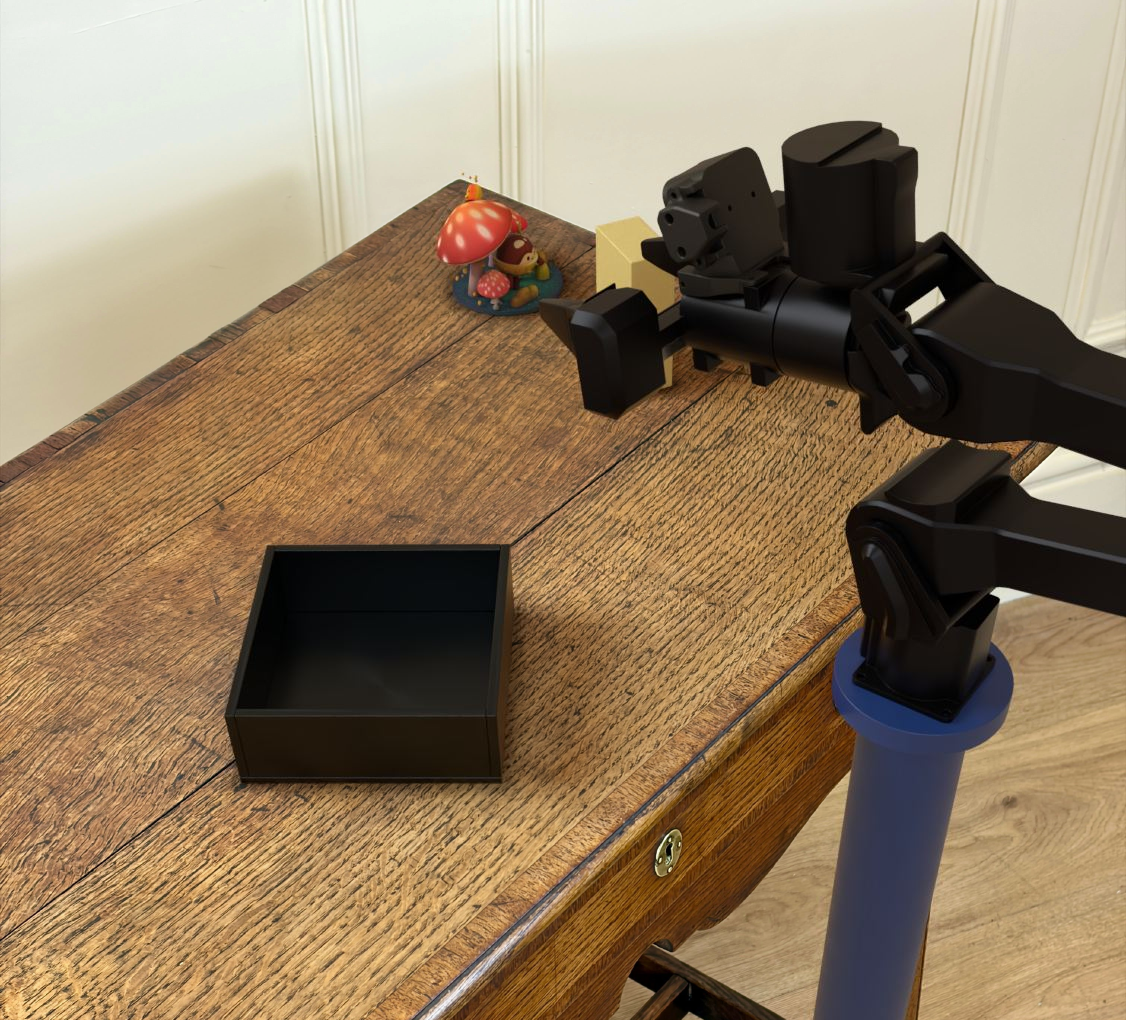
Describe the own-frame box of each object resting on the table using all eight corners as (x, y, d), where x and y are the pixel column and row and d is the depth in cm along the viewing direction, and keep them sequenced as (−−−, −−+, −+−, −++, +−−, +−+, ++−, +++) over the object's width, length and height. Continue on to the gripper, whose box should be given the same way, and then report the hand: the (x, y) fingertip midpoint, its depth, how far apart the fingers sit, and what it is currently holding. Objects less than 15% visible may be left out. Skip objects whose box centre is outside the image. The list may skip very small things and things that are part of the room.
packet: (637, 348, 123) (638, 215, 115) (672, 386, 119) (675, 251, 111) (596, 358, 122) (595, 226, 114) (630, 397, 118) (631, 263, 110)
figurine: (542, 330, 125) (538, 230, 119) (430, 317, 127) (420, 218, 121) (578, 256, 133) (576, 159, 127) (472, 245, 135) (465, 149, 129)
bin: (514, 611, 101) (510, 543, 97) (502, 783, 91) (496, 715, 87) (280, 611, 102) (266, 544, 98) (240, 783, 91) (223, 716, 87)
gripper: (898, 114, 85) (677, 88, 94) (677, 245, 76) (456, 202, 85) (902, 309, 92) (696, 266, 101) (700, 451, 83) (493, 390, 92)
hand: (592, 277), depth 95 cm, fingers open, 9 cm apart
